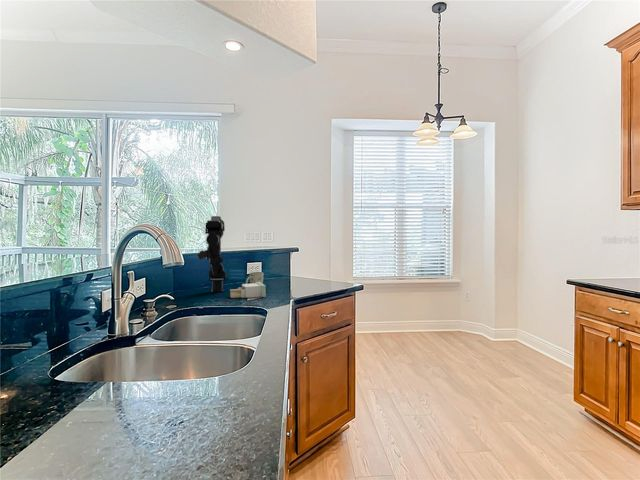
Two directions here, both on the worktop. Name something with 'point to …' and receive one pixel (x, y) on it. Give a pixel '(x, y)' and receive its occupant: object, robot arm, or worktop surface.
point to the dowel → (235, 293)
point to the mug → (255, 277)
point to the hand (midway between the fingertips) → (214, 275)
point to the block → (250, 290)
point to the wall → (262, 289)
